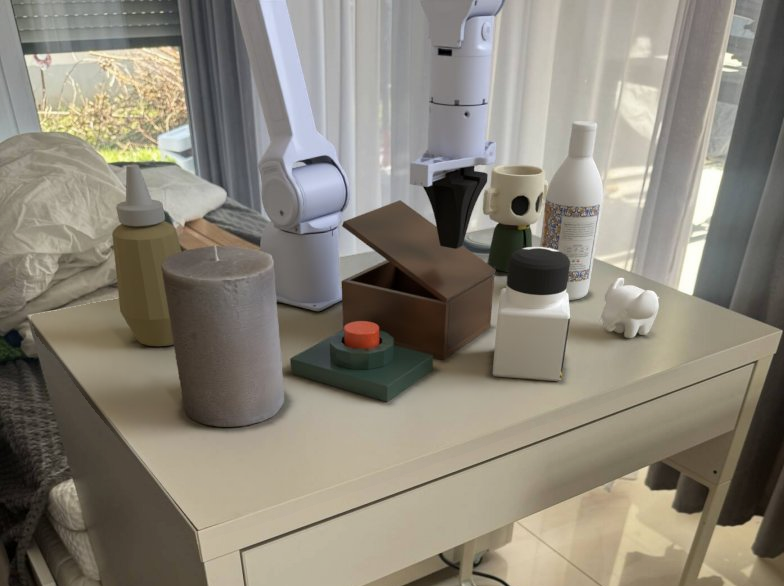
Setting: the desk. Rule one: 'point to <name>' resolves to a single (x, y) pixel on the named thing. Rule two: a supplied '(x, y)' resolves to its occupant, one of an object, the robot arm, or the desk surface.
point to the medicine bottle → (533, 316)
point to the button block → (363, 366)
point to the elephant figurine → (629, 309)
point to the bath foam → (575, 208)
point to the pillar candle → (225, 333)
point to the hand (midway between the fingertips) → (451, 246)
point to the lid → (419, 250)
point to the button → (361, 334)
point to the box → (416, 310)
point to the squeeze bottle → (143, 261)
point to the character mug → (513, 209)
